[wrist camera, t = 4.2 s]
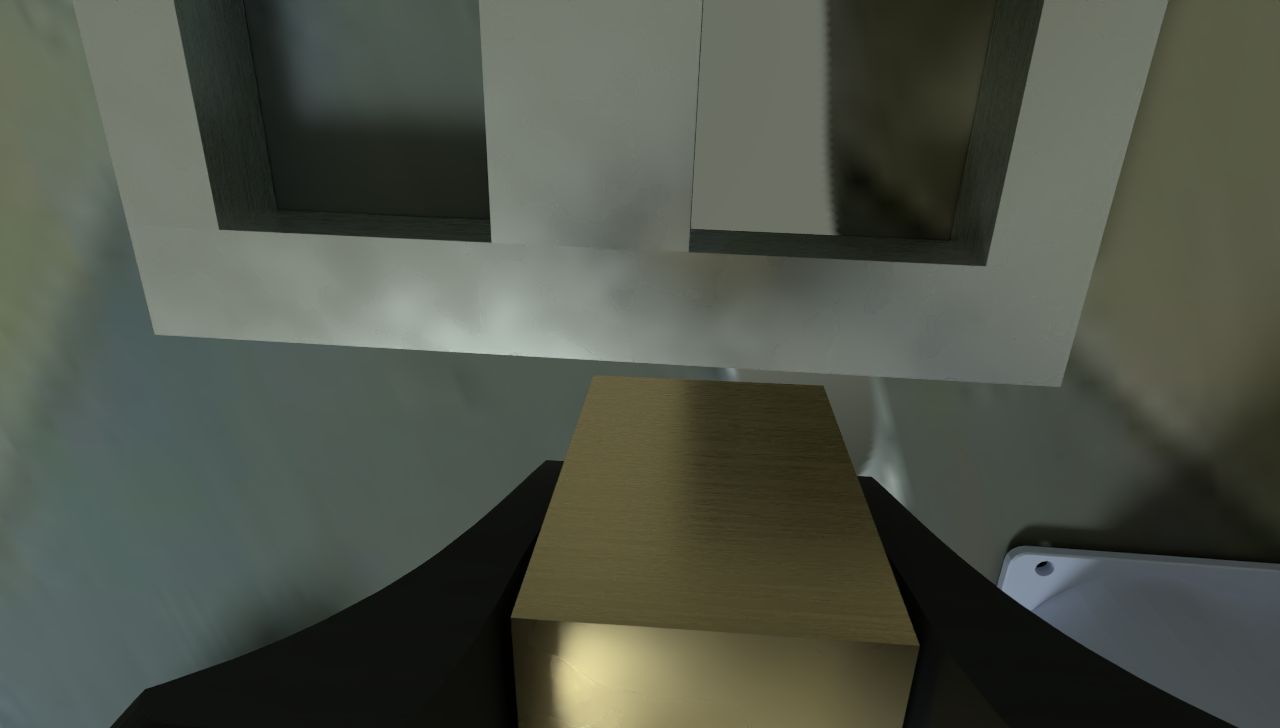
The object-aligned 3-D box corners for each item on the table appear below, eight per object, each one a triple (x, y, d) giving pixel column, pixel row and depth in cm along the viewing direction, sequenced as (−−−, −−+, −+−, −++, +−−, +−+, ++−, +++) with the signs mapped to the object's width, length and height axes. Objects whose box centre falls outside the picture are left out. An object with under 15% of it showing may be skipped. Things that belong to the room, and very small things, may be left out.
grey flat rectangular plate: (1156, -214, 14) (1243, -268, 12) (1017, 347, 19) (1060, 386, 17) (108, -220, 16) (6, -268, 13) (217, 304, 20) (154, 334, 18)
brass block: (823, 385, 12) (919, 645, 7) (799, 572, 14) (863, 905, 8) (593, 375, 13) (510, 616, 7) (596, 560, 14) (529, 874, 9)
